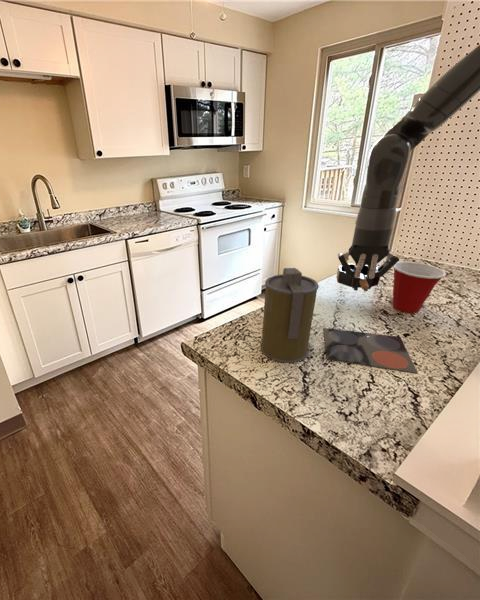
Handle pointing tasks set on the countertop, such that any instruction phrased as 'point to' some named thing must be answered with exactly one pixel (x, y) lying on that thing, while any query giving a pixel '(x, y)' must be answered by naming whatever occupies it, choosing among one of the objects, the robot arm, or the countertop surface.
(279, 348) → the canister
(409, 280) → the plastic cup
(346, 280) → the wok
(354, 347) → the grey slab
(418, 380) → the countertop surface
